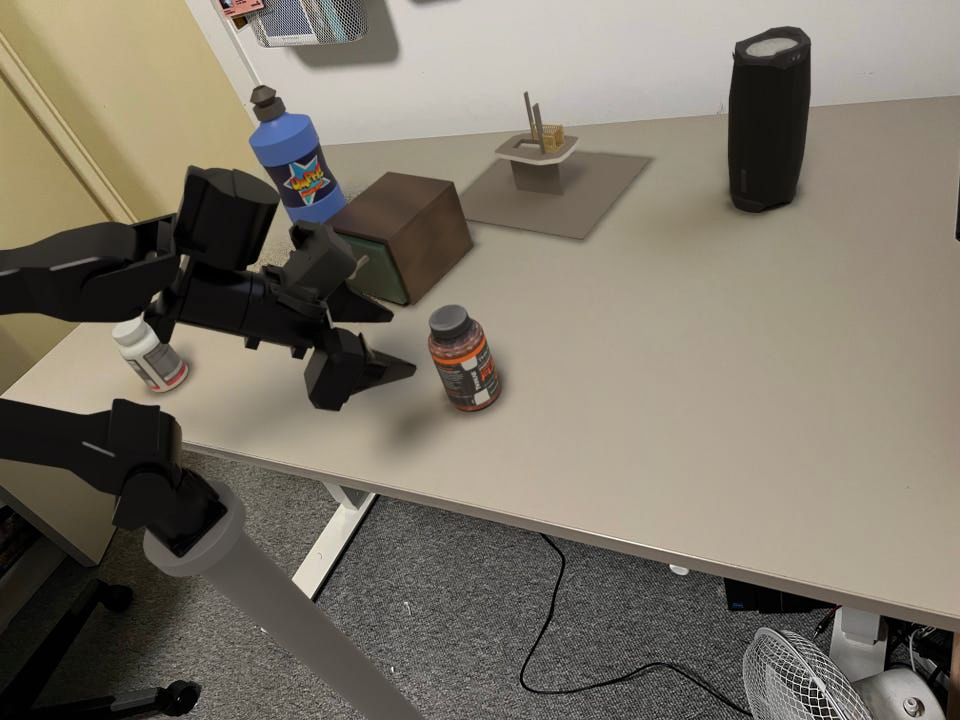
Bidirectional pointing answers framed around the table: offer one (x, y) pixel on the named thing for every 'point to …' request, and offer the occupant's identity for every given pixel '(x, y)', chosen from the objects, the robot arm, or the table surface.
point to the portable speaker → (768, 116)
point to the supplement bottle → (462, 358)
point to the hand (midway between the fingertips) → (403, 342)
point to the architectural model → (548, 183)
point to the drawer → (374, 269)
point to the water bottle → (294, 159)
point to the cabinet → (410, 227)
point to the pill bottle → (149, 355)
